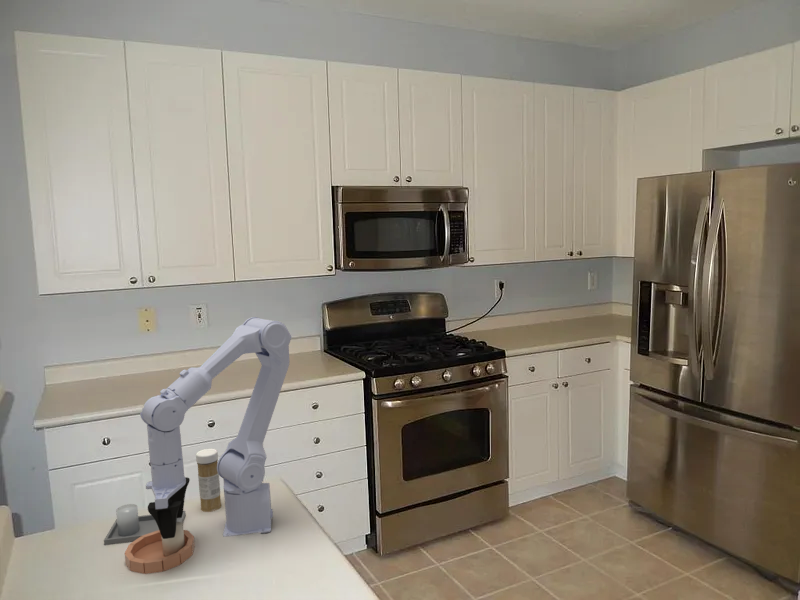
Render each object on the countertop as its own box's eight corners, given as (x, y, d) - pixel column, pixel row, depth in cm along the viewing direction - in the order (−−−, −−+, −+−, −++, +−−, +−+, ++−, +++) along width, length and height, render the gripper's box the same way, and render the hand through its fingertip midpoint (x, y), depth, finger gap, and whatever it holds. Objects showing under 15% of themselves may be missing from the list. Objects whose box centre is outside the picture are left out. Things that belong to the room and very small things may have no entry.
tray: (185, 517, 129) (185, 510, 128) (178, 538, 120) (177, 531, 120) (117, 525, 126) (116, 518, 126) (104, 547, 117) (103, 540, 117)
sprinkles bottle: (216, 502, 135) (212, 446, 133) (225, 509, 132) (220, 451, 130) (197, 509, 132) (192, 451, 131) (204, 516, 129) (200, 457, 127)
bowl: (198, 537, 120) (197, 525, 120) (188, 570, 108) (187, 557, 108) (135, 544, 118) (134, 532, 118) (119, 579, 106) (117, 566, 106)
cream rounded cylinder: (186, 544, 116) (184, 520, 115) (183, 555, 112) (181, 530, 111) (165, 547, 115) (163, 523, 114) (160, 558, 111) (158, 533, 111)
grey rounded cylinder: (141, 525, 125) (139, 503, 124) (136, 535, 121) (134, 511, 120) (121, 527, 124) (119, 505, 123) (115, 537, 120) (113, 514, 119)
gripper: (152, 447, 117) (158, 511, 119) (134, 477, 103) (141, 550, 105) (189, 443, 119) (195, 507, 121) (176, 473, 105) (182, 544, 106)
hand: (172, 527), depth 113 cm, fingers open, 7 cm apart
